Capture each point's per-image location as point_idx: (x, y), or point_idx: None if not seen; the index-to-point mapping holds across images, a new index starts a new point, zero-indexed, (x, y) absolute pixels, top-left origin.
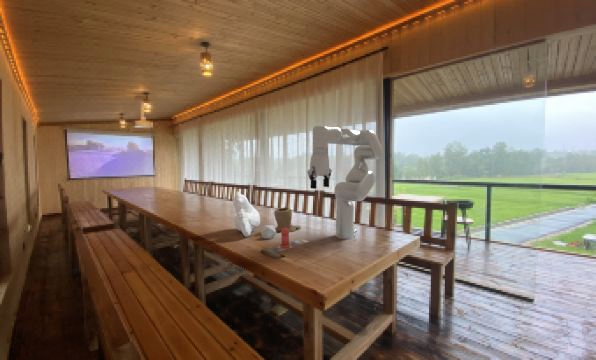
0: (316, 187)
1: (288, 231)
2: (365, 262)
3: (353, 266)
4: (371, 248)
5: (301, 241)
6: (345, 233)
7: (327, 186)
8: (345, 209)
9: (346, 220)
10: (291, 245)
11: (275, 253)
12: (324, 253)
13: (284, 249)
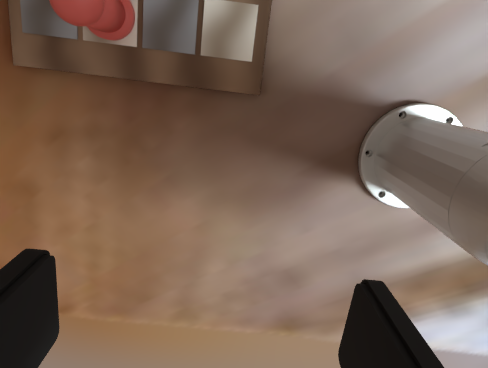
0: (51, 346)
1: (80, 25)
2: (209, 314)
3: (157, 301)
4: (345, 284)
5: (227, 30)
6: (389, 188)
7: (342, 353)
8: (466, 243)
9: (425, 217)
10: (147, 27)
11: (23, 34)
12: (193, 180)
13: (83, 36)
